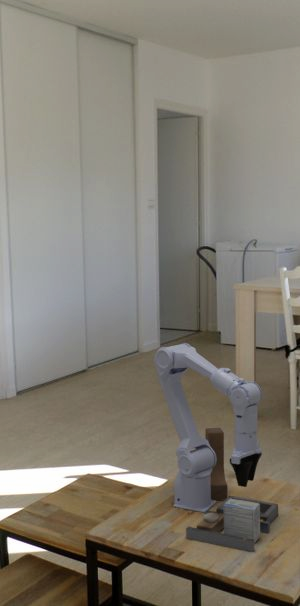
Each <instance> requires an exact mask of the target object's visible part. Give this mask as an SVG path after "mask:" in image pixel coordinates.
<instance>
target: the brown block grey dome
mask: <svg viewBox="0 0 300 606" xmlns="http://www.w3.org/2000/svg"><path fill="white" fill-rule="evenodd" d="M196 528H198V529H203V530H208V531H213V532H218V533H221V530H224V514H218V513H213V512H210V513H208V514H205V513H204V515H203V519H202V520H201V521H200V522H198V523H197V524H196Z"/></svg>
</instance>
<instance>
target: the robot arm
mask: <svg viewBox="0 0 300 606" xmlns="http://www.w3.org/2000/svg"><path fill="white" fill-rule="evenodd" d="M153 363H154V366H155V368H156V371H157V375H158V381H159V384H160V388H161V391H162V393H163V396H164V399H165V402H166V404H167V407H168V409H169V413H170V416H171V419H172V422H173V424H174V427H175V431H176V434H177V435H178V438H179V441H180V442H179V445H178V447H177V448H176V450H175V454H176V457H177V468H178V470H179V471H178V472H177V473H176V475H175V478H174V485H173V489H174V490H173V494H174V497H173V499H174V501H173V502H174V504H173V505H172V506H173V508H179V509H184V510H190V511H194V512H199V513H205V511H206V510H208V511H210V509H211V508H212V507H213V506H214V505H215V504H216V503H217V500H211V472H212V468H213V467H214V466H215V465H216V461H217V458H216V454H215V452H214V450H213V449H212V448H211V447H210V445H209V442H208V440H206V439H205V437H203V436H201V435H200V432H199V430H198V426H197V424H196V421H195V418H194V416H193V413H192V411H191V407H190V405H189V402H188V399H187V396H186V393H185V391H184V388H183V385H182V382H181V380H182V378H183V375H184V374H185V373H186V371H188V369H189V368H190V370H193V371H195V373H198V374H199V375H201V376H203V377H205V378H206V379H208V380H210V383H211V386H212V388H214V389H216V390H217V391H219V392H220V393H221V394H222V395H225V397H228V398H229V402H230V404H231V405H232V412H233V414H234V437H233V438H234V439H233V440H234V443H233V444H234V446H233V451H232V455H231V457H230V458H229V464H230V465H231V467H232V469H233V471H234V474H235V478H236V484H237V486H239V487H243V488H245V487H247V486H248V482H249V481H251V482H253V481H254V479H255V475H256V470H257V467H258V463H259V461H260V459H261V457H262V454H263V453H262V452H263V451H262V450H263V449H262V448H260V440H259V439H258V414H259V413H258V404H260V402H261V401H262V399H263V390H262V389H261V387H260V385H259V384H258V383H257V382H256V381H253V380H251V381H250V380H249V381H246V380H245V379H244V378H243V377H239V376H238V375H236V374H235V373H233V372H232V369H230V368H228V367H220V368H218V367H217V366H216V365H214V364H213V363H211V362H210V361H208V360H207V359H206V358H205V357H203V356H202V355H200V354H199V352H197V350H196V347H193V346H191V344H189V343H187V342H183V343H180V344H176V345H171V346H165V347H163V346H162V347H159V349H157V350H156V353H155V355H154V359H153Z"/></svg>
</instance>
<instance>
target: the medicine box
mask: <svg viewBox="0 0 300 606" xmlns="http://www.w3.org/2000/svg"><path fill="white" fill-rule="evenodd" d="M223 534H228V535H233V536H238V537H243V538H245V537H248V539H253V540H254V544H256V542H257V541H258V540H259V538H260V537H261V532H260V504H259V503H254V502H249V501H243V500H236V499H229V500H228V501H227V502H226V503H225V504H224V528H223Z"/></svg>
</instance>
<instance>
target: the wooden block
mask: <svg viewBox="0 0 300 606" xmlns="http://www.w3.org/2000/svg"><path fill="white" fill-rule="evenodd" d="M204 433H205V434H204V435H205V436H204V438H205V439H206V440H208V442H209V445H210V447H211V448H212V449H213V450H214V452H215V454H216V458H217V461H216V465H215V466H214V467H213V468H212V472H211V500H215V501H225V500H226V499H227V498H228V483H227V481H226V475H225V434H224V433H225V432H224V431H223V429H222V428H221V427H207V428H205V432H204Z"/></svg>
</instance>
